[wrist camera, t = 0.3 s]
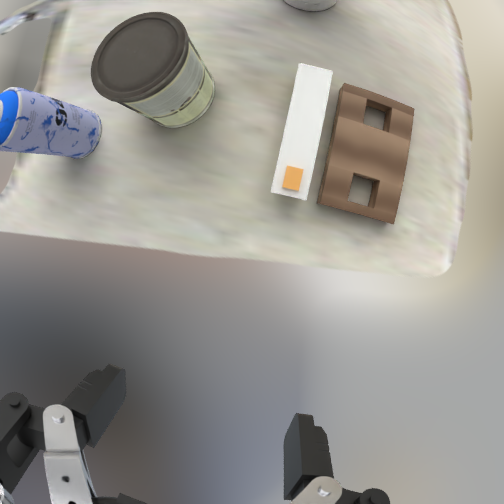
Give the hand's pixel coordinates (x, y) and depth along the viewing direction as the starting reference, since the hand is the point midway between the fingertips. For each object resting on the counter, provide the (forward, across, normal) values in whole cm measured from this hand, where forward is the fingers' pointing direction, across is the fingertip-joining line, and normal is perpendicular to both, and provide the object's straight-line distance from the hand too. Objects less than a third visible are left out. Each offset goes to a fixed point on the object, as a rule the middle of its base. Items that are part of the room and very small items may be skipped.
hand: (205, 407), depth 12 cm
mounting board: (+28, -12, -17) cm, 34 cm away
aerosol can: (+28, +29, -13) cm, 42 cm away
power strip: (+28, -3, -17) cm, 33 cm away
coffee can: (+28, +14, -20) cm, 37 cm away
